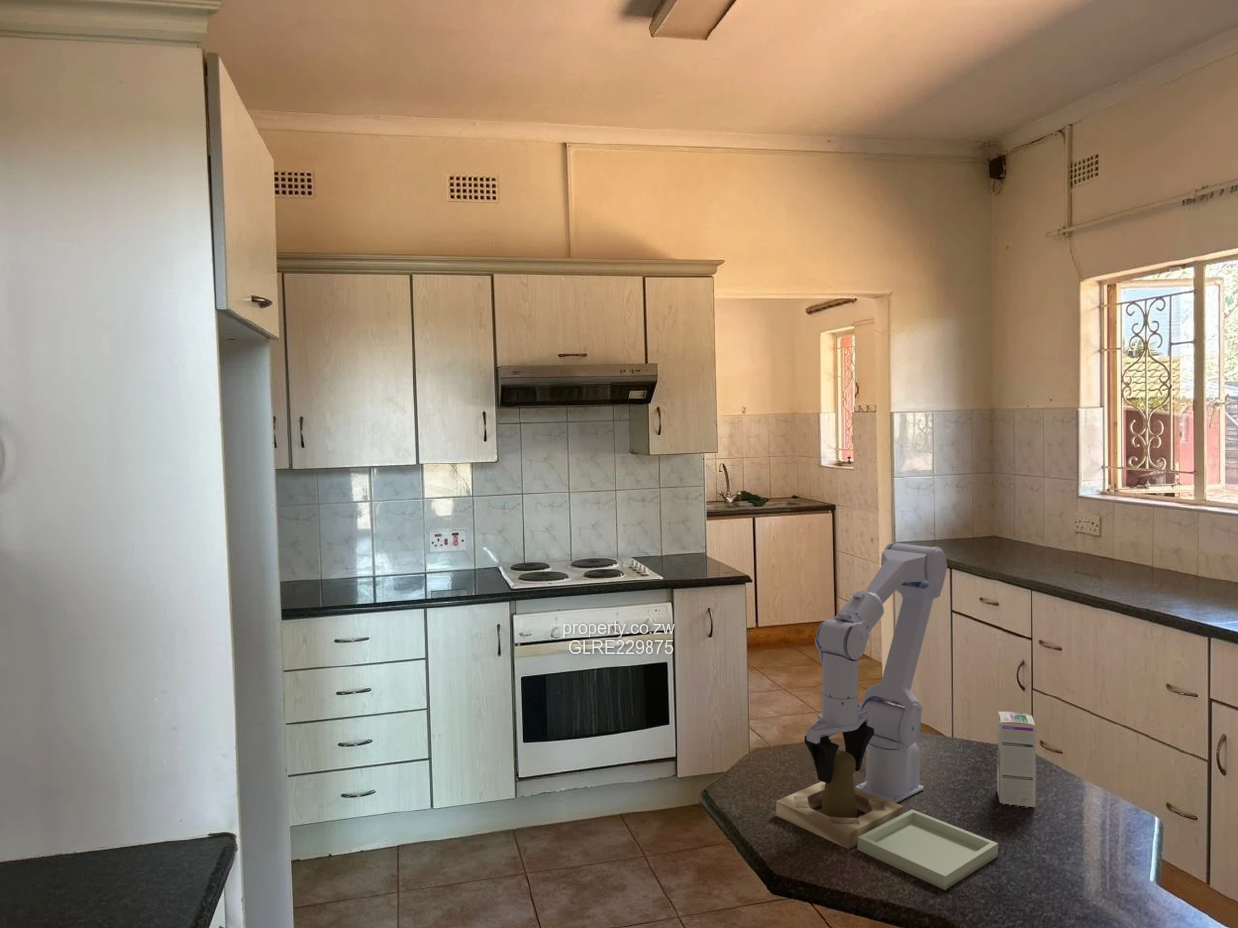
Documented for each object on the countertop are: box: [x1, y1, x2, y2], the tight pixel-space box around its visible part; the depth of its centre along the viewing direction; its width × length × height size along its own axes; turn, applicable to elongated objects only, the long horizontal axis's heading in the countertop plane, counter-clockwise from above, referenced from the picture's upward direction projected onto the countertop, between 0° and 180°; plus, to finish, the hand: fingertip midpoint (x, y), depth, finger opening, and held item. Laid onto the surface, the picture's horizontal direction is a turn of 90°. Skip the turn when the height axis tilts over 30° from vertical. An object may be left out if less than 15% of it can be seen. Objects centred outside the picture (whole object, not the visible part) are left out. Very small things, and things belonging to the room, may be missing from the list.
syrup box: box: [996, 711, 1037, 808], centre depth 150 cm, size 6×6×14 cm
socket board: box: [775, 781, 904, 850], centre depth 144 cm, size 14×14×2 cm
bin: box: [857, 808, 999, 891], centre depth 133 cm, size 15×15×2 cm
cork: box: [820, 749, 859, 818], centre depth 144 cm, size 6×6×11 cm
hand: (839, 774), depth 144 cm, fingers open, 7 cm apart
